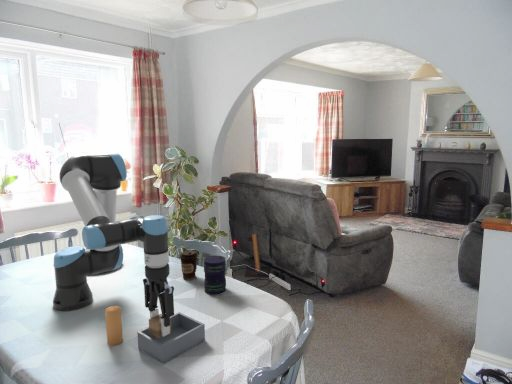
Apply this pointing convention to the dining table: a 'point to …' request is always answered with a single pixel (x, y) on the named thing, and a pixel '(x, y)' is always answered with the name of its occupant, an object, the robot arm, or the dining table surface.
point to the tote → (172, 338)
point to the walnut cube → (156, 326)
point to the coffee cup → (189, 264)
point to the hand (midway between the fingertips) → (160, 331)
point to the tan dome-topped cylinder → (113, 325)
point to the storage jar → (214, 275)
